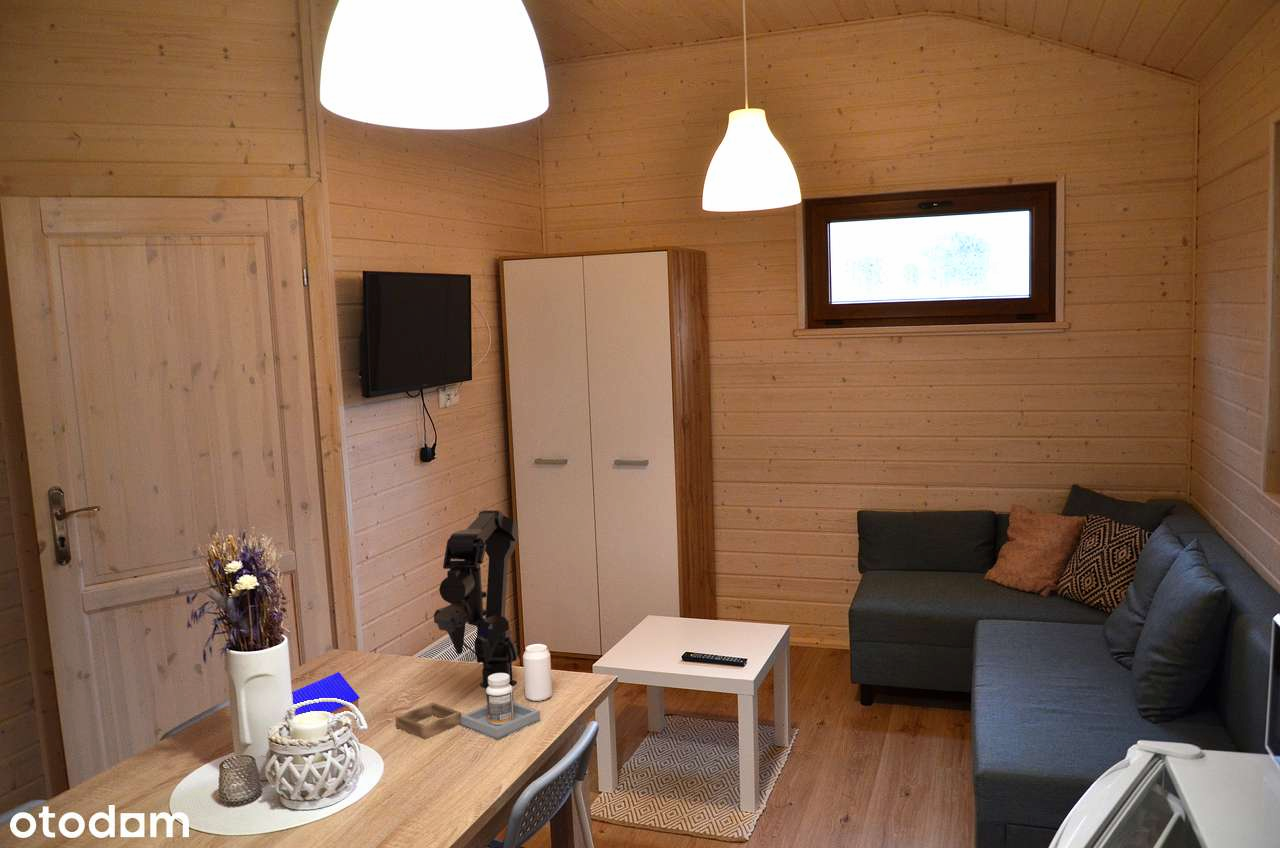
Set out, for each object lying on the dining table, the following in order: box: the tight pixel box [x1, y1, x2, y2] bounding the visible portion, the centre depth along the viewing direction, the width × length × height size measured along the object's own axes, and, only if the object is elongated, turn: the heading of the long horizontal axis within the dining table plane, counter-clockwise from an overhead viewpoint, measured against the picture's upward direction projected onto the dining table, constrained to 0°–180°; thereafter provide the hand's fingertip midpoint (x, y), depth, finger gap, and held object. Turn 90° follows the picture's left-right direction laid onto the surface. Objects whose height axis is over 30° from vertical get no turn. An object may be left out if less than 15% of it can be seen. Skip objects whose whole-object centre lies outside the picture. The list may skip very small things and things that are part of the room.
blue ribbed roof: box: [292, 671, 361, 731], centre depth 210 cm, size 12×20×12 cm, turn 150°
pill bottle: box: [485, 673, 514, 725], centre depth 214 cm, size 6×6×10 cm
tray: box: [460, 701, 541, 741], centre depth 214 cm, size 12×12×2 cm
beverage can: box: [522, 643, 553, 702], centre depth 228 cm, size 6×6×12 cm
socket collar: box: [394, 702, 463, 741], centre depth 215 cm, size 10×10×2 cm
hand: (473, 657), depth 220 cm, fingers open, 9 cm apart
